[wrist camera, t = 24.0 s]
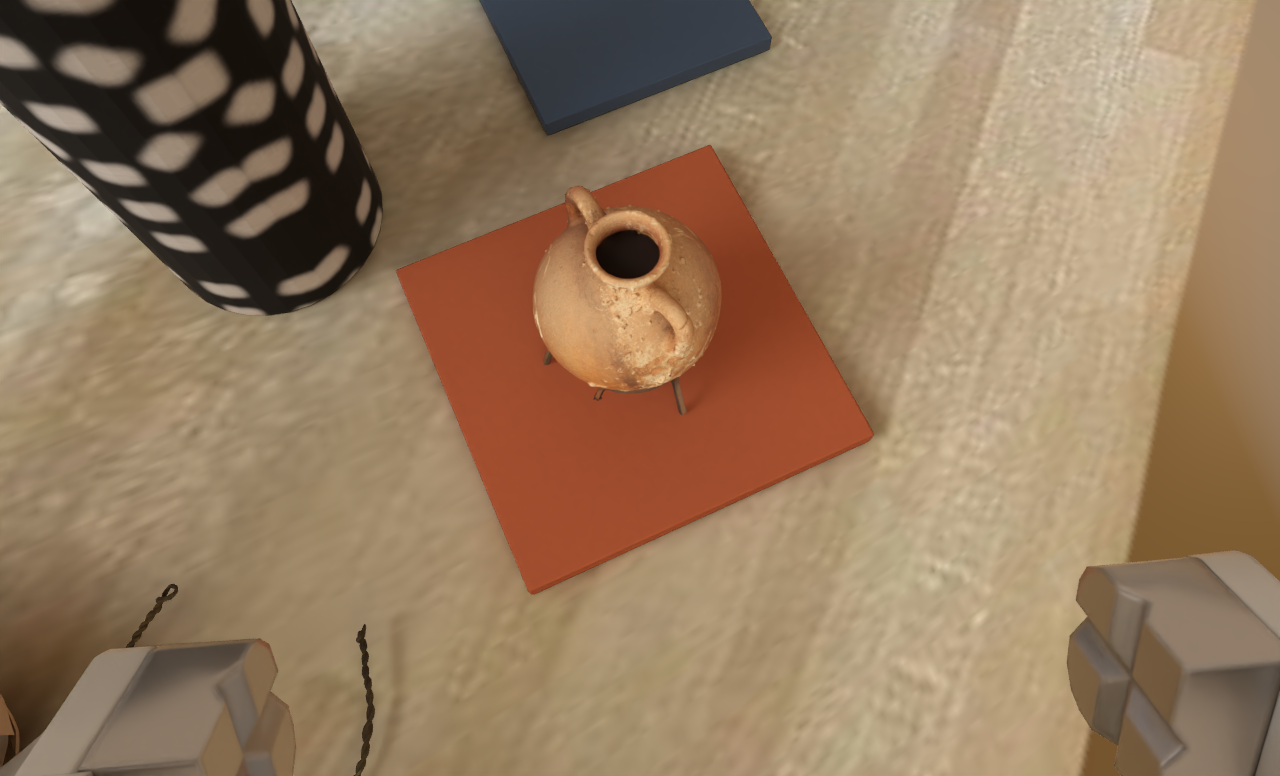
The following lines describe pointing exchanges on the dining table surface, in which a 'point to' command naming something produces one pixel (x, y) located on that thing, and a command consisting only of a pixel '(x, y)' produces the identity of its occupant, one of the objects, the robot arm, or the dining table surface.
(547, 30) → the blue mat
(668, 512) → the terracotta mat
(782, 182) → the dining table surface
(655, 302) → the pot
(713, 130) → the dining table surface
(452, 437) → the dining table surface
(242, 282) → the spotted tube
